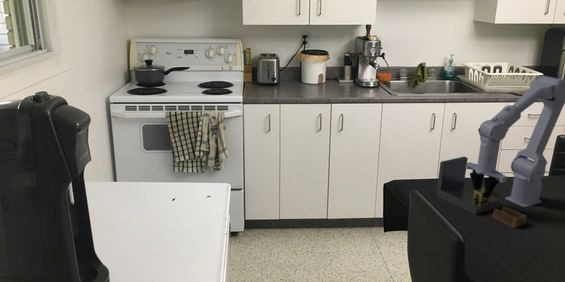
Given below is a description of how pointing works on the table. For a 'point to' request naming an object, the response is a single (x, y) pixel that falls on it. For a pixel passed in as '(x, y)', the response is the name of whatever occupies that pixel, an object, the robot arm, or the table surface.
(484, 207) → the dark grey l-shaped block
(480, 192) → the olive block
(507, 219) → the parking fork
